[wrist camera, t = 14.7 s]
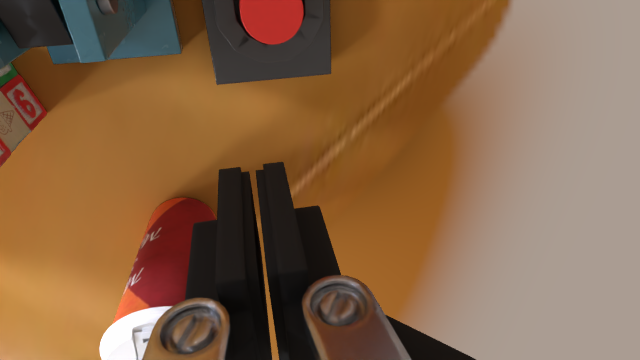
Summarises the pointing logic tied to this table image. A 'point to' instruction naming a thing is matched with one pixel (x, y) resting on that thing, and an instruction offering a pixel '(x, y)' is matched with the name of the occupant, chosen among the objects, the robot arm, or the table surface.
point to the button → (271, 19)
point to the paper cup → (154, 277)
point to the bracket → (109, 31)
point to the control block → (267, 45)
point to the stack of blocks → (16, 111)
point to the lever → (35, 23)
